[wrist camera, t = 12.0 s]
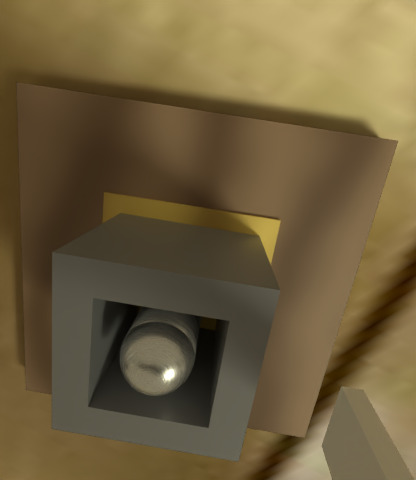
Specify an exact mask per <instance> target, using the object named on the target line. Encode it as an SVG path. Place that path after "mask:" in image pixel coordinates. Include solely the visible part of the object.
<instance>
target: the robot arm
mask: <svg viewBox="0 0 416 480" xmlns="http://www.w3.org/2000/svg"><path fill="white" fill-rule="evenodd" d="M322 448H323V451H324V454H325V458H326V461H327V464H328V467H329V470H330V473H331V477H332V480H414V478H413V476H412V475H411V473H410V471H409V469H408V468H407V466H406V464H405V462H404V461H403V459H402V457H401V455H400V454H399V452H398V450H397V448H396V447H395V445H394V443H393V441H392V439H391V438H390V436H389V434H388V432H387V431H386V429H385V427H384V425H383V424H382V422H381V420H380V418H379V417H378V415H377V413H376V411H375V410H374V408H373V406H372V404H371V403H370V401H369V399H368V397H367V396H366V394H365V392H364V390H361V389H355V388H349V387H343V386H341V389H340V392H339V395H338V398H337V401H336V404H335V407H334V410H333V413H332V416H331V419H330V422H329V425H328V428H327V431H326V434H325V437H324V440H323V443H322Z"/></svg>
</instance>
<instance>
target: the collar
mask: <svg viewBox="0 0 416 480" xmlns="http://www.w3.org/2000/svg"><path fill="white" fill-rule="evenodd" d="M279 294H280V288H279V285H278V283H277V280H276V277H275V275H274V272H273V270H272V267H271V264H270V262H269V259H268V257H267V254H266V251H265V249H264V246H263V244H262V241H261V238H260V236H258V235H252V234H245V233H239V232H233V231H227V230H221V229H215V228H209V227H203V226H197V225H191V224H184V223H178V222H172V221H166V220H160V219H154V218H148V217H142V216H136V215H130V214H123V213H120V214H118V215H116V216H115V217H113V218H111V219H109V220H108V221H106V222H104V223H102V224H101V225H99V226H97V227H95V228H94V229H92V230H90V231H88V232H87V233H85V234H83V235H82V236H80V237H78V238H76V239H75V240H73V241H71V242H69V243H68V244H66V245H64V246H62V247H61V248H59V249H57V250H55V251H54V252H52V429H55V430H61V431H67V432H72V433H78V434H84V435H90V436H95V437H101V438H107V439H112V440H118V441H124V442H129V443H135V444H141V445H146V446H152V447H158V448H163V449H169V450H175V451H180V452H186V453H192V454H197V455H203V456H209V457H215V458H220V459H226V460H232V461H237V462H238V461H239V457H240V453H241V449H242V445H243V441H244V437H245V433H246V429H247V425H248V421H249V417H250V412H251V408H252V404H253V400H254V396H255V392H256V388H257V384H258V380H259V376H260V372H261V368H262V363H263V359H264V355H265V351H266V347H267V343H268V339H269V335H270V331H271V327H272V323H273V319H274V314H275V310H276V306H277V302H278V298H279ZM138 306H144V307H150V308H156V309H161V310H167V311H173V312H179V313H185V314H191V315H197V316H203V317H209V318H215V319H217V323H216V329H215V330H211V329H205V328H200V329H199V336H198V342H197V348H196V355H195V361H194V365H193V368H192V371H191V373H190V375H189V377H188V378H187V379H186V381H185V382H184V383H183V384H182V385H181V386H180V387H179V388H177V389H176V390H174V391H172V392H170V393H168V394H165V395H160V396H149V395H145V394H142V393H140V392H138V391H136V390H135V389H134V388H132V387H131V386H130V385H129V384H128V382H127V381H126V379H125V378H124V376H123V374H122V371H121V367H120V350H121V346H122V343H123V340H124V338H125V336H126V335H127V333H128V331H129V329H130V327H131V326H132V324H133V322H134V320H135V318H136V317H137V311H138Z"/></svg>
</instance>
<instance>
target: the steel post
mask: <svg viewBox="0 0 416 480" xmlns="http://www.w3.org/2000/svg"><path fill="white" fill-rule="evenodd" d="M200 323H201V316H197V315H191V314H185V313H179V312H173V311H167V310H161V309H156V308H150V307H144V306H142V307H141V309H140V311H139V313H138V315H137V317H136V318H135V320H134V322H133V324H132V326H131V327H130V329H129V331H128V333H127V335H126V336H125V338H124V340H123V343H122V346H121V350H120V367H121V371H122V374H123V376H124V378H125V379H126V381H127V382H128V384H129V385H130V386H131V387H132V388H134V389H135V390H136V391H138V392H140V393H142V394H145V395H149V396H160V395H165V394H168V393H170V392H172V391H174V390H176V389H177V388H179V387H180V386H181V385H182V384H183V383H184V382H185V381H186V379H187V378H188V377H189V375H190V373H191V371H192V368H193V365H194V361H195V355H196V348H197V342H198V336H199V329H200Z"/></svg>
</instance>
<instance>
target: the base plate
mask: <svg viewBox="0 0 416 480" xmlns="http://www.w3.org/2000/svg"><path fill="white" fill-rule="evenodd" d="M16 92H17V124H18V156H19V187H20V219H21V251H22V282H23V314H24V345H25V377H26V390H29V391H35V392H41V393H47V394H52V252H54V251H55V250H57V249H59V248H61V247H62V246H64V245H66V244H68V243H69V242H71V241H73V240H75V239H76V238H78V237H80V236H82V235H83V234H85V233H87V232H88V231H90V230H92V229H94V228H95V227H97V226H99V225H101V224H102V223H104V222H106V221H108V220H109V219H111V218H113V217H115V216H116V215H118V214H120V213H123V214H130V215H136V216H142V217H148V218H154V219H160V220H166V221H172V222H178V223H184V224H191V225H197V226H203V227H209V228H215V229H221V230H227V231H233V232H239V233H245V234H252V235H258V236H260V238H261V241H262V244H263V246H264V249H265V251H266V254H267V257H268V259H269V262H270V264H271V267H272V270H273V272H274V275H275V277H276V280H277V283H278V285H279V288H280V294H279V298H278V302H277V306H276V310H275V314H274V319H273V323H272V327H271V331H270V335H269V339H268V343H267V347H266V351H265V355H264V359H263V363H262V368H261V372H260V376H259V380H258V384H257V388H256V392H255V396H254V400H253V404H252V408H251V412H250V417H249V421H248V425H247V428H251V429H257V430H263V431H268V432H274V433H280V434H286V435H292V436H298V437H303V438H305V435H306V431H307V428H308V425H309V422H310V419H311V416H312V412H313V409H314V406H315V403H316V400H317V397H318V393H319V390H320V387H321V384H322V381H323V378H324V374H325V371H326V368H327V365H328V362H329V359H330V355H331V352H332V349H333V346H334V343H335V340H336V336H337V333H338V330H339V327H340V324H341V321H342V317H343V314H344V311H345V308H346V305H347V302H348V299H349V295H350V292H351V289H352V286H353V283H354V280H355V276H356V273H357V270H358V267H359V264H360V261H361V257H362V254H363V251H364V248H365V245H366V242H367V238H368V235H369V232H370V229H371V226H372V223H373V219H374V216H375V213H376V210H377V207H378V204H379V200H380V197H381V194H382V191H383V188H384V185H385V181H386V178H387V175H388V172H389V169H390V166H391V162H392V159H393V156H394V153H395V150H396V147H397V143H398V141H396V140H389V139H383V138H376V137H370V136H363V135H357V134H350V133H344V132H337V131H331V130H324V129H318V128H312V127H305V126H299V125H292V124H286V123H279V122H273V121H266V120H260V119H253V118H247V117H240V116H234V115H227V114H221V113H214V112H208V111H201V110H195V109H188V108H182V107H175V106H169V105H162V104H156V103H149V102H143V101H136V100H130V99H123V98H117V97H110V96H104V95H97V94H91V93H84V92H78V91H71V90H65V89H58V88H52V87H45V86H39V85H32V84H26V83H19V82H16ZM141 307H142V306H138V311H137V315H138V313H139V311H140V309H141ZM216 323H217V319H215V318H209V317H203V316H201V323H200V328H205V329H211V330H215V329H216Z"/></svg>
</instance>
